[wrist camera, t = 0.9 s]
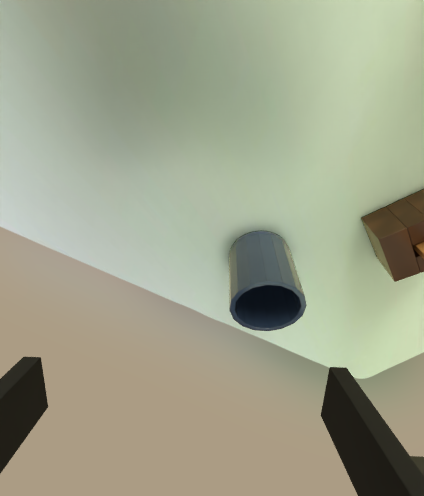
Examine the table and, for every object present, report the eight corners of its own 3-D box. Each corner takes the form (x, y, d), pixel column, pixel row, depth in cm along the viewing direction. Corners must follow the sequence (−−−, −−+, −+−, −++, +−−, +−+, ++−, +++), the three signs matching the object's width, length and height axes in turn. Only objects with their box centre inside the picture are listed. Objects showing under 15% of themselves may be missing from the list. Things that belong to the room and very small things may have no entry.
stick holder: (430, 185, 31) (461, 205, 27) (440, 232, 35) (468, 256, 31) (360, 217, 34) (378, 239, 30) (377, 257, 38) (394, 282, 34)
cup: (247, 221, 35) (254, 271, 27) (301, 245, 37) (322, 298, 29) (219, 264, 40) (217, 317, 32) (267, 283, 42) (277, 338, 34)
